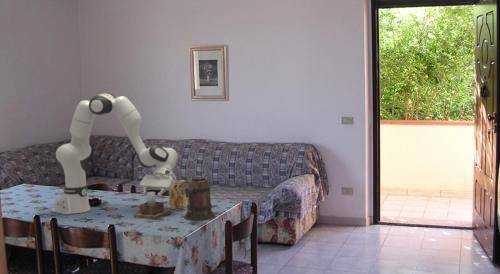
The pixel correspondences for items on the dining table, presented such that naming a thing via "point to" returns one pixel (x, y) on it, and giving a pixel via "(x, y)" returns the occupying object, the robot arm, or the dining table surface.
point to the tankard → (199, 200)
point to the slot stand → (152, 211)
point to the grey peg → (151, 198)
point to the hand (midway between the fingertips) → (151, 195)
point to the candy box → (178, 195)
